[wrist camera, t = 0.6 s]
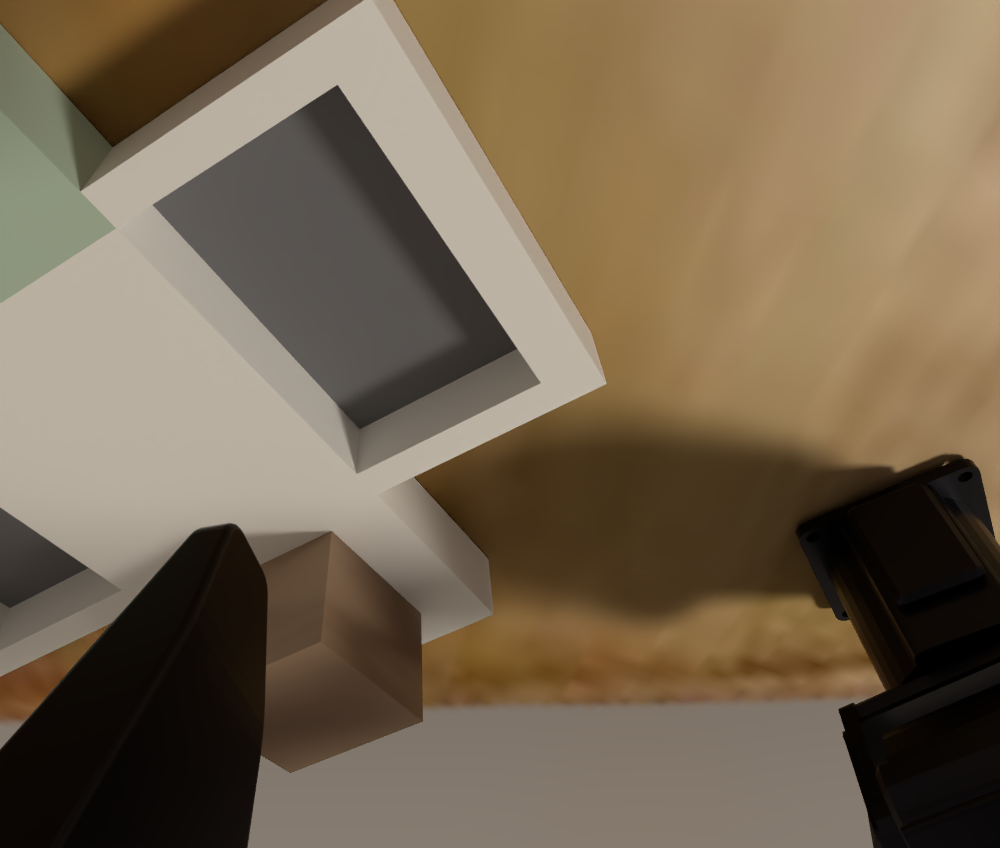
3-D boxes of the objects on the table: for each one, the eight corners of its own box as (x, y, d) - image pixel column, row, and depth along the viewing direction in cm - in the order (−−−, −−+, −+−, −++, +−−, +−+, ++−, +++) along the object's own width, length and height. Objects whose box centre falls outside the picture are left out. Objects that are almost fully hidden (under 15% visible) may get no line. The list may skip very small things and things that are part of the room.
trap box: (676, 476, 28) (695, 529, 26) (149, 707, 34) (134, 764, 32) (125, -451, 13) (77, -483, 11) (-629, 252, 19) (-742, 308, 17)
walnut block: (421, 613, 28) (422, 721, 25) (302, 664, 29) (290, 772, 26) (331, 531, 25) (320, 641, 22) (204, 591, 26) (176, 704, 23)
